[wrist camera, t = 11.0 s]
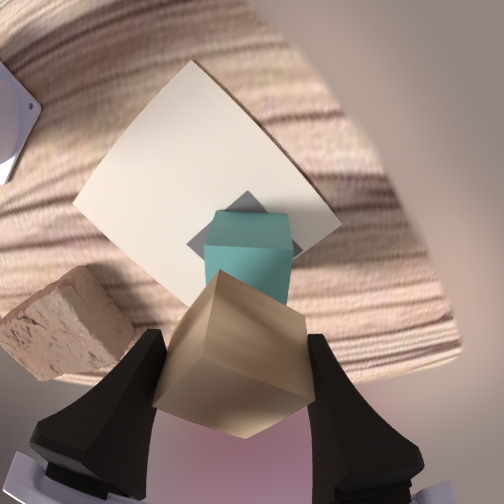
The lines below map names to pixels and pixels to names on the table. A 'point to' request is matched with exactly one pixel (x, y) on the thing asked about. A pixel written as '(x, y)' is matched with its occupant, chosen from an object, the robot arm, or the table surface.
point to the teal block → (251, 250)
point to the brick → (67, 328)
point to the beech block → (236, 361)
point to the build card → (194, 182)
